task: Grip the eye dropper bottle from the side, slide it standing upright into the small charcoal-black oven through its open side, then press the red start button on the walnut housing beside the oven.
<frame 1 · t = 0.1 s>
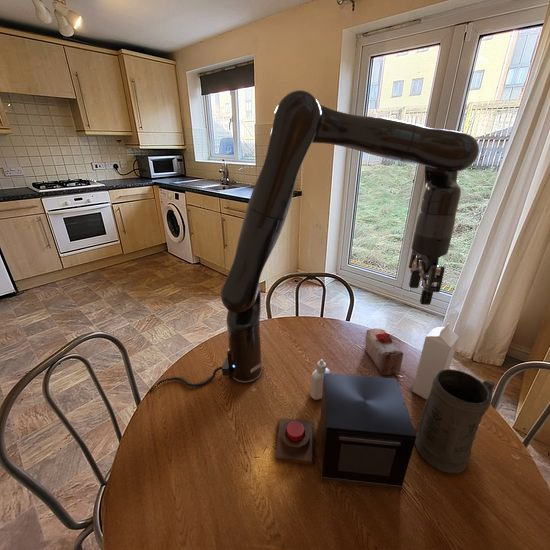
hand: (418, 295, 72), 29 cm above the table, tool pointing down, fingers open, 8 cm apart
oven: (356, 451, 66), on the table
start button: (295, 431, 67), point 3 cm above the table, slide at 0.1 cm
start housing: (294, 441, 69), on the table
food item: (381, 360, 94), on the table
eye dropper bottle: (319, 394, 82), on the table
milk: (426, 392, 82), on the table
beer stein: (446, 445, 68), on the table
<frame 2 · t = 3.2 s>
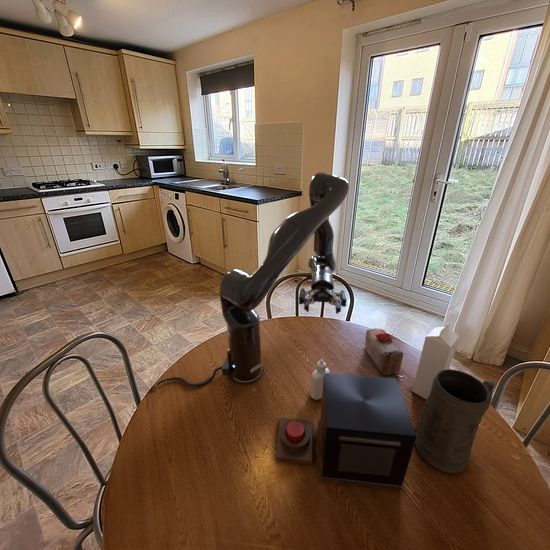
hand: (322, 310, 84), 20 cm above the table, tool horizontal, fingers open, 8 cm apart
nothing on the table moved.
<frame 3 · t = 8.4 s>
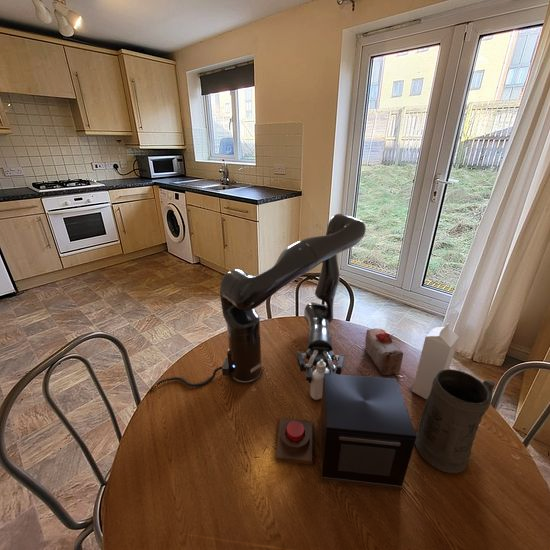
hand: (321, 381, 76), 7 cm above the table, tool horizontal, fingers closed on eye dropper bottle, 5 cm apart
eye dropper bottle: (319, 394, 82), on the table, touching gripper
everything else where it was.
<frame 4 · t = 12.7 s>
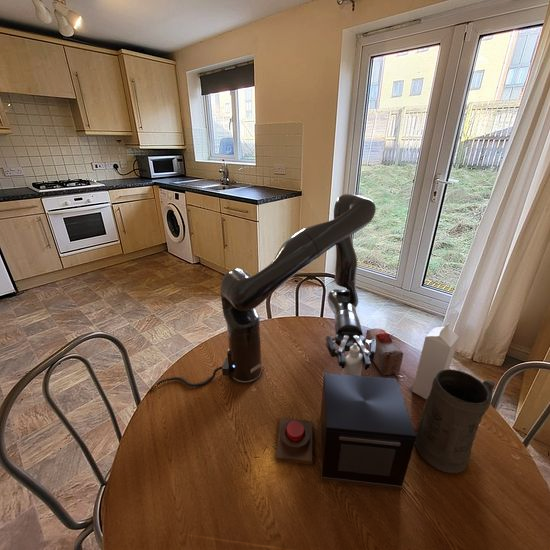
hand: (354, 366, 73), 13 cm above the table, tool horizontal, fingers closed on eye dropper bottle, 5 cm apart
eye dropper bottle: (350, 380, 78), point 6 cm above the table, touching gripper
everything else where it was.
when the fingers open (8 cm above the table, at t = 17.2 s): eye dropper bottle stays where it is, resting on oven.
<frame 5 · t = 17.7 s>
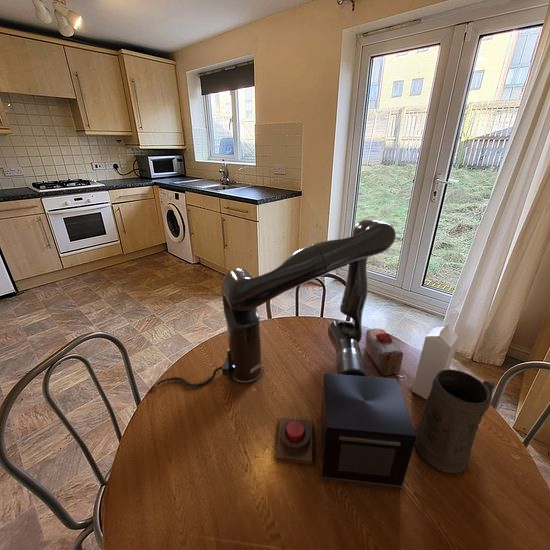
hand: (359, 420, 64), 8 cm above the table, tool horizontal, fingers open, 8 cm apart
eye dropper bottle: (354, 435, 69), point 1 cm above the table, touching oven
everything else where it was.
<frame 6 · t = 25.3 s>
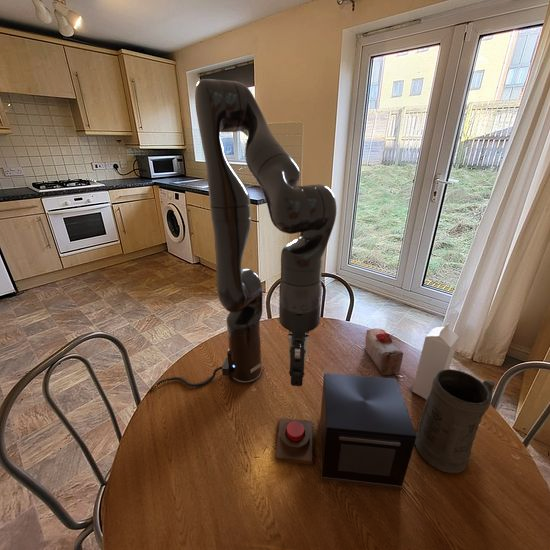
hand: (297, 369, 60), 22 cm above the table, tool pointing down, fingers open, 8 cm apart
nothing on the table moved.
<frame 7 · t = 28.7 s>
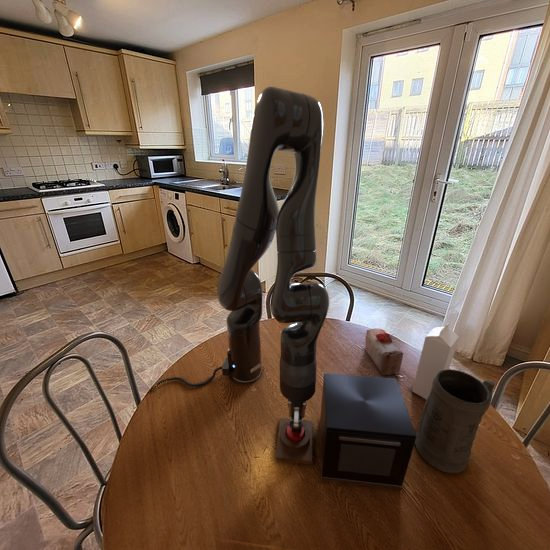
hand: (296, 430, 67), 4 cm above the table, tool pointing down, fingers closed
start button: (295, 432, 67), point 3 cm above the table, slide at -0.4 cm, touching gripper
everything else where it was.
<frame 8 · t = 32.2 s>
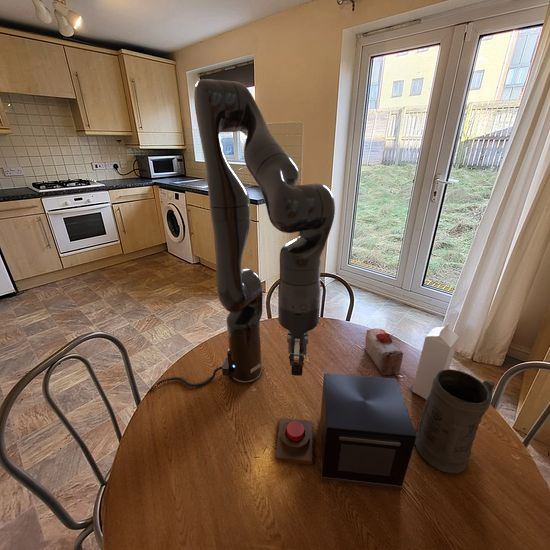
hand: (296, 373, 60), 21 cm above the table, tool pointing down, fingers closed
start button: (295, 431, 67), point 3 cm above the table, slide at 0.1 cm
everything else where it was.
at the end: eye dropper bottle inside the target area on the oven (3.1 cm from its centre), point 0.8 cm above the oven's base; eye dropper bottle tilted 0°; start button pushed in 1.1 cm at the most during the clip, back to where it started at the end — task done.
